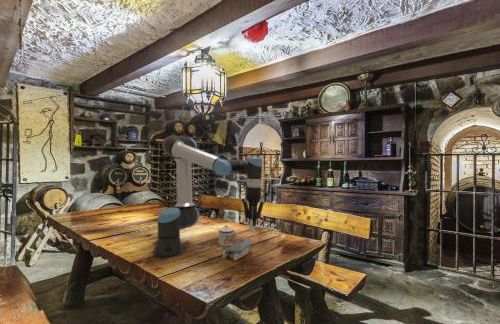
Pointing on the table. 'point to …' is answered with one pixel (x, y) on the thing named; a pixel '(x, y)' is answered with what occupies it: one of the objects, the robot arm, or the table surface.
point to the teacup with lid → (226, 236)
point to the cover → (239, 246)
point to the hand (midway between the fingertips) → (251, 231)
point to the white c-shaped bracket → (236, 254)
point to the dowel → (231, 255)
